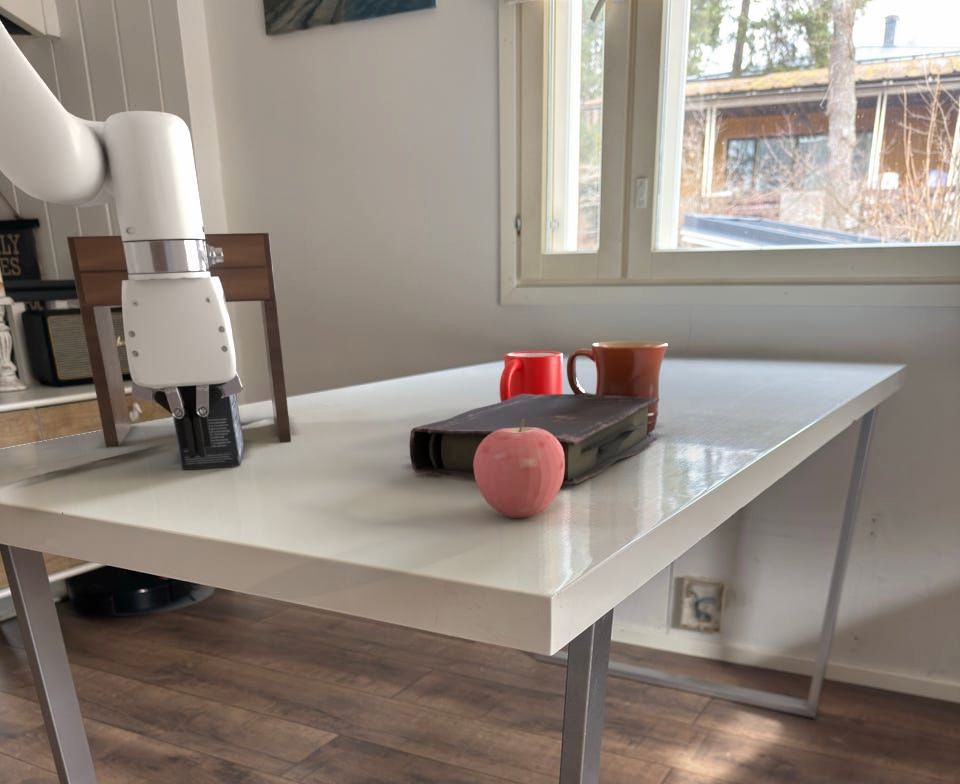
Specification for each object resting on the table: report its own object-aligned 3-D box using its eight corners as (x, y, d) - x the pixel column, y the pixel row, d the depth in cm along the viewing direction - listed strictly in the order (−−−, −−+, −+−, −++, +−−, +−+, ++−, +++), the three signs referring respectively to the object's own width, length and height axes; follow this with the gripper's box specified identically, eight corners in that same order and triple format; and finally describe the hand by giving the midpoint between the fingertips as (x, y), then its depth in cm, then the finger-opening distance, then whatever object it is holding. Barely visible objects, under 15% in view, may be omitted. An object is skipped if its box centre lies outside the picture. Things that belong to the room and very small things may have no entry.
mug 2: (671, 428, 109) (676, 341, 105) (650, 441, 102) (654, 348, 98) (579, 423, 115) (581, 339, 111) (553, 435, 107) (554, 346, 103)
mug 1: (479, 420, 118) (477, 359, 115) (522, 407, 128) (521, 350, 125) (531, 424, 115) (531, 361, 112) (571, 410, 124) (572, 351, 121)
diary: (408, 475, 89) (405, 424, 87) (516, 432, 110) (516, 390, 108) (581, 492, 81) (582, 436, 79) (663, 443, 101) (666, 397, 99)
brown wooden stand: (291, 441, 108) (269, 232, 99) (107, 454, 103) (66, 236, 94) (285, 423, 120) (264, 236, 111) (120, 433, 116) (85, 239, 107)
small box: (187, 451, 103) (173, 357, 99) (245, 448, 105) (233, 354, 100) (178, 470, 94) (162, 367, 90) (242, 466, 95) (228, 364, 91)
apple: (575, 507, 76) (576, 412, 73) (550, 530, 70) (550, 427, 67) (493, 501, 79) (492, 409, 76) (462, 523, 73) (459, 424, 69)
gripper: (247, 260, 90) (270, 443, 97) (90, 265, 87) (126, 454, 94) (248, 259, 83) (273, 456, 90) (77, 265, 80) (117, 468, 87)
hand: (198, 454), depth 92 cm, fingers closed
